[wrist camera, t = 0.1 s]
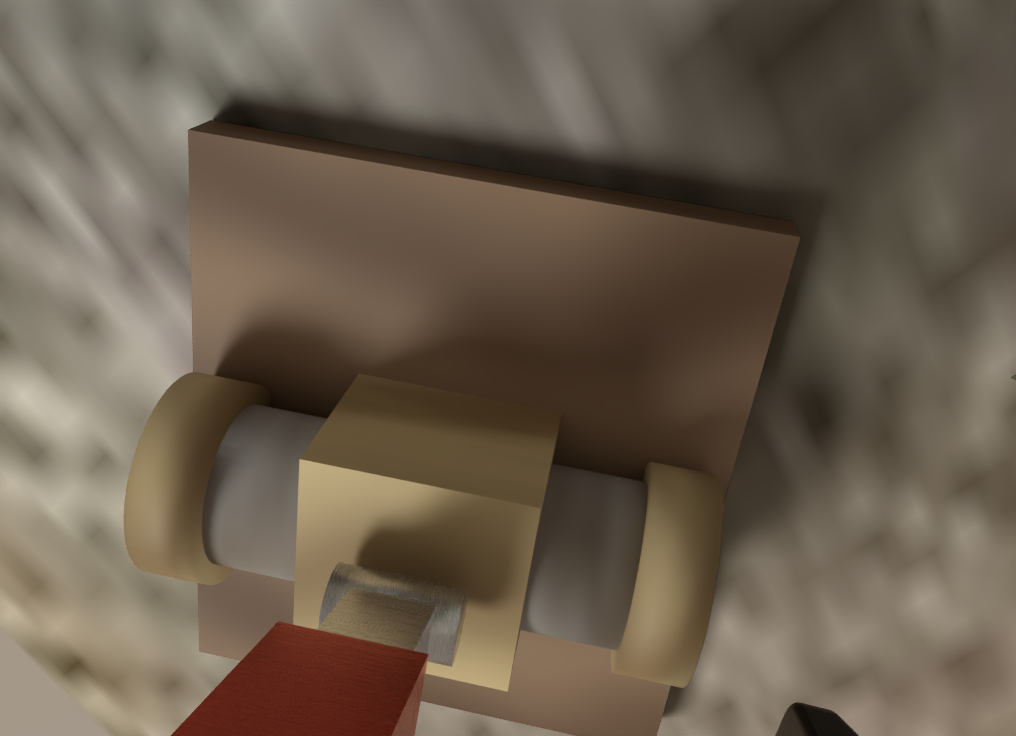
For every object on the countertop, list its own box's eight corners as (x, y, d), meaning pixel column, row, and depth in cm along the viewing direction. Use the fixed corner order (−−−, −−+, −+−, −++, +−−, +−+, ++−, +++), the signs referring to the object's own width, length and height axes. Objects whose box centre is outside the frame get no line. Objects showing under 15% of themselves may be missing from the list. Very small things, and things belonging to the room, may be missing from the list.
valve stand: (210, 120, 22) (76, 177, 17) (793, 221, 21) (833, 315, 16) (216, 624, 29) (121, 770, 24) (652, 721, 28) (648, 895, 23)
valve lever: (349, 539, 20) (119, 780, 11) (474, 565, 20) (354, 836, 10) (333, 634, 21) (94, 954, 11) (457, 661, 20) (324, 1013, 11)
